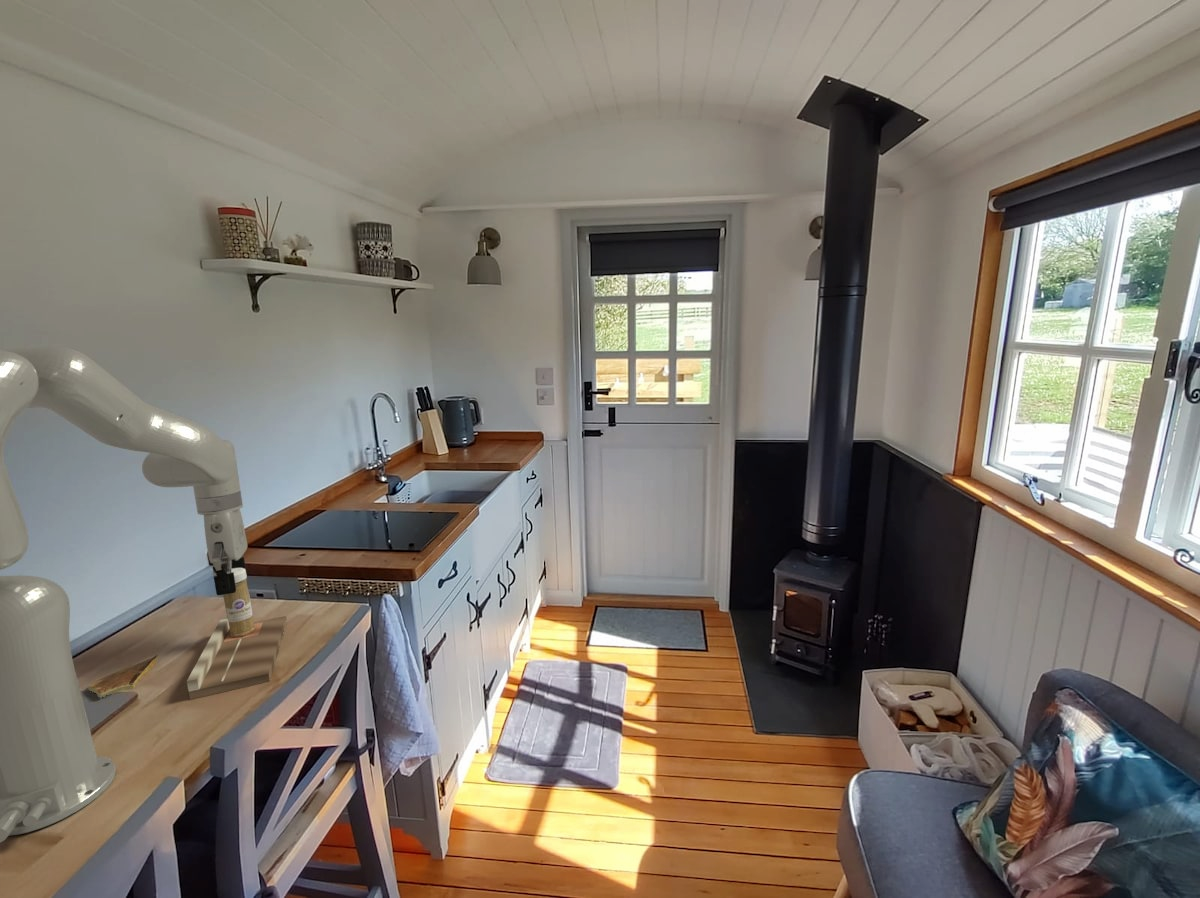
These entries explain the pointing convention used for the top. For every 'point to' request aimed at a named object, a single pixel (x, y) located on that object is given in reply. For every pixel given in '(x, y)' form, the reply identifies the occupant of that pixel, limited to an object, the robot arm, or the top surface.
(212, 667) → the guide board
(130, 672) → the shard
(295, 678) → the top surface
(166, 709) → the top surface
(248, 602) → the sprinkles bottle
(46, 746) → the robot arm
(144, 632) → the top surface
